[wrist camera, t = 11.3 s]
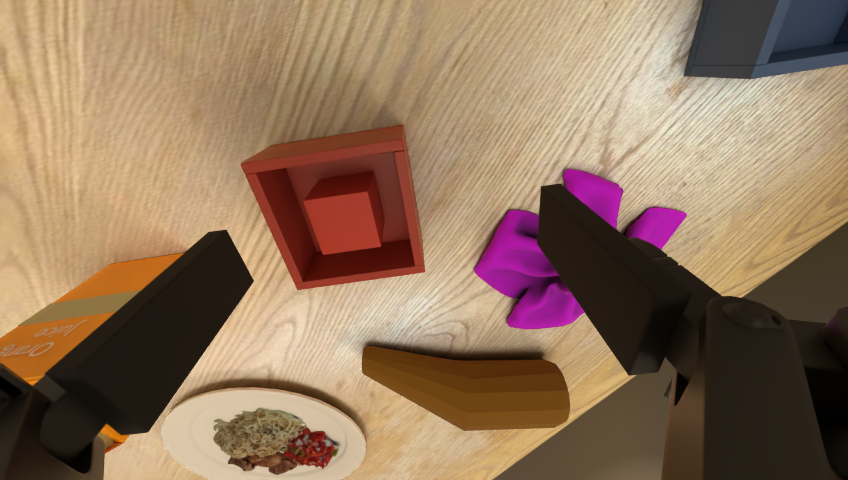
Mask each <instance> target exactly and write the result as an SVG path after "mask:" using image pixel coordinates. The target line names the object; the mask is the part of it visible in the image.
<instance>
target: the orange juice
mask: <svg viewBox="0 0 848 480" xmlns="http://www.w3.org/2000/svg"><path fill="white" fill-rule="evenodd" d="M183 254H184V253H179V254H172V255H166V256H159V257H153V258H146V259H140V260H133V261H126V262H120V263H113V264H110V265H109V266H107V267H106V268H104V269H103V270H101V271H100V272H98V273H97V274H95V275H94V276H92V277H91V278H89V279H88V280H86V281H85V282H83V283H82V284H80V285H79V286H77V287H76V288H74V289H73V290H71V291H70V292H68V293H67V294H65V295H64V296H63V297H61V298H60V299H58V300H57V301H55V302H54V303H51V304H49V305H48V306H47V307H45V308H44V309H42V310H41V311H39V312H38V313H36V314H35V315H33V316H32V317H30V318H29V319H27V320H26V321H24V322H23V323H21V324H20V325H18V327H17V328H15V329H14V330H12V331H11V332H9V333H8V334H6V335H5V336H3V337H2V338H0V363H3V364H4V365H5V366H7V367H8V368H9V369H11V370H12V371H13V372H15V373H16V374H17V375H19V376H20V377H21V378H22V379H24V380H25V381H26V382H28V383H29V384H30V385H32V386H33V385H34V384H35V383H36V382H37V381H38V380H40V379H41V378H42V377H43V376H44V375H45V374H44V373H45V372H46V371H48V370H49V369H50V368H51V367H52V366H53V365H55V364H56V363H57V362H58V361H59V360H60V359H62V358H63V357H64V356H65V355H66V354H67V353H69V352H70V351H71V350H72V349H73V348H74V347H76V346H77V345H78V344H79V343H80V342H81V341H83V340H84V339H85V338H86V337H87V336H88V335H90V334H91V333H92V332H93V331H94V330H95V329H97V328H98V327H99V326H100V325H101V324H102V323H103V322H105V321H106V320H107V319H108V318H109V317H110V316H112V315H113V314H114V313H115V312H116V311H117V310H119V309H120V308H121V307H122V306H123V305H124V304H126V303H127V302H128V301H129V300H130V299H131V298H133V297H134V296H135V295H136V294H137V293H138V292H140V291H141V290H142V289H143V288H144V287H145V286H147V285H148V284H149V283H150V282H151V281H152V280H154V279H155V278H156V277H157V276H158V275H159V274H161V273H162V272H163V271H164V270H165V269H166V268H167V267H169V266H170V265H171V264H172V263H173V262H174V261H176V260H177V259H178V258H179V257H180V256H181V255H183ZM98 436H99V437H101V438H102V439H103V440H104V443H105V453H107V452H109V451H110V450H112V449H114V448H115V447H117V446H119V445H121V444H122V443H124V441H125V440H126V439H127V437H128V436H129V435H120V434H119V433H118V432H116V431H115V430H114V429H113V428H111V427H110V426H109V425H108V424H106V425H105V426H104V427H103V429H102V430H101V431H100V432H99V433H98Z"/></svg>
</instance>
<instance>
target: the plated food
mask: <svg viewBox="0 0 848 480" xmlns="http://www.w3.org/2000/svg"><path fill="white" fill-rule="evenodd" d="M161 439H162V442H163V445H164V447H165V449H166V450H167V451H168V453H169V454H170V455H171V456H172V458H173V459H175V460H176V461H177V462H178V463H180V464H181V465H182V466H183V467H185V468H187V469H188V470H190V471H192V472H194V473H195V474H197V475H200V476H202V477H204V478H207V479H209V480H341V479H343V478H345V477H347V476H348V475H350V474H351V473H352V472H354V471H355V470H356V469H357V468H358V467H359V466H360V464H361V463H362V461H363V460H364V457H365V453H366V441H365V437H364V435H363V433H362V431H361V429H360V427H359V426H358V425H357V424H356V423H355V422H354V421H353V420H352V419H351V418H350V417H349V416H347V415H346V414H344V413H343V412H341V411H340V410H339V409H337V408H335V407H333V406H331V405H329V404H327V403H325V402H323V401H321V400H318V399H315V398H312V397H308V396H305V395H302V394H299V393H294V392H289V391H284V390H279V389H268V388H257V387H248V388H228V389H222V390H215V391H210V392H207V393H203V394H200V395H197V396H194V397H191V398H190V399H188V400H186V401H184V402H182V403H180V404H178V405H177V406H176V407H175V408H174V409H173V410H172V411H171V412H170V413H169V414H168V415H167V416H166V418H165V420H164V422H163V424H162V426H161Z"/></svg>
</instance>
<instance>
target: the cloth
mask: <svg viewBox="0 0 848 480" xmlns="http://www.w3.org/2000/svg"><path fill="white" fill-rule="evenodd" d="M563 178H564V181H565V188H566V189H567V190H568V191H570V192H571V193H572V194H573V195H575V196H576V197H577V198H578V199H579V200H581V201H582V202H583V203H584V204H586V205H587V206H588V207H589V208H590V209H592V210H593V211H594V212H595V213H597V214H598V215H599V216H600V217H601V218H603V219H604V220H605V221H606V222H608V223H609V224H610V225H611V226H612V227H614V228H615V229H616V227H617V217H618V212H619V207H620V201H621V197H622V194H623V189H622V188H620V187H619V185H618V184H616V183H613V182H610V181H607V180H605V179H603V178H601V177H599V176H596V175H593V174H590V173H588V172H584V171H578V170H572V169H567V170H566V171H565V173H564V176H563ZM686 216H687V214H686V213H684V212H681V211H677V210H673V209H667V208H660V207H654V208H649V209H647V210H646V211H645V213H644V214H643V215H642V216H641V217H640V218H639V219H638V220H637V221H636V222H635V223H634V224H633V225H632V226H631V227H630V228H629V229H628V231H627V233H626V236H625V237H626V238H633V237H637V238H639V239H642V240H644V241H646V242H649V243H651V244H653V245H655V246H656V247H658V248H659V249H660V250H661V249H662V248H663V246H664V245H665V244H666V242H667V241H668V240H669V238H670V237H671V236H672V234H673V233H674V232H675V231H676V229H677V228H678V227H679V225H680V224H681V223H682V221H683V220H684V219H685V217H686ZM538 223H539V216H538V215H536V214H534V213H531V212H528V211H521V210H510V211H509V212H508V213H507V215H506V216H505V218H504V219H503V221H502V222H501V224H500V225H499V227H498V229H497V231H496V233H495V235H494V238H493V240H492V242H491V243H490V244H489V246H488V248H487V250H486V251H485V253H484V255H483V257H482V258H481V260H480V262H479V263H478V265H477V266H476V268H475V269H474V271H475V273H476V274H477V275H478V276H479V277H480V278H481V279H483V280H484V281H485V282H486V283H488V284H489V285H490V286H492V287H493V288H495V289H496V290H497V291H499V292H500V293H502V294H504V295H506V296H508V297H511V298H516V299H521V300H520V301H519V302H518V303H517V304H516V305H515V307H514V309H513V311H512V313H511V314H510V316H509V317H508V319H507V323H508V326H509V327H514V328H520V329H541V328H551V327H559V326H564V325H567V324H570V323H572V322H574V321H575V320H576V319H577V318H578V317H579V316H580V315H582V314H583V313H584V311H583V309H582V308H581V306H580V305H579V303H578V302H577V301H576V299H575V298H574V296H573V295H572V293H571V292H570V290H569V289H568V288H567V286H566V285H565V283H564V282H563V280H562V279H561V278H560V276H559V275H558V273H557V272H556V270H555V269H554V268H553V266H552V265H551V263H550V262H549V260H548V259H547V257H546V256H545V255H544V253H543V252H542V250H541V249H540V247H539V246H538V245H537V236H538Z"/></svg>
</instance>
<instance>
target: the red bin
mask: <svg viewBox="0 0 848 480" xmlns="http://www.w3.org/2000/svg"><path fill="white" fill-rule="evenodd" d="M241 167H242V169H243V171H244V173H245V174H246V178H247V180H248V182H249V184H250V186H251V189H252V191H253V193H254V195H255V197H256V200H257V202H258V204H259V206H260V209H261V211H262V213H263V215H264V217H265V220H266V222H267V224H268V226H269V228H270V231H271V233H272V235H273V237H274V239H275V242H276V244H277V246H278V248H279V250H280V253H281V255H282V257H283V259H284V262H285V264H286V266H287V268H288V270H289V273H290V275H291V277H292V279H293V281H294V283H295V286H296V288H297V290H301V289H309V288H316V287H323V286H330V285H337V284H344V283H351V282H359V281H366V280H373V279H380V278H387V277H394V276H401V275H409V274H416V273H423V272H425V265H424V253H423V241H422V235H421V229H420V222H419V216H418V210H417V204H416V198H415V192H414V186H413V179H412V173H411V167H410V161H409V155H408V149H407V143H406V137H405V130H404V125H399V126H393V127H386V128H380V129H373V130H367V131H360V132H354V133H347V134H341V135H334V136H328V137H321V138H315V139H308V140H302V141H295V142H289V143H282V144H276V145H271V146H269V147H268V148H266V149H264V150H263V151H261V152H259V153H258V154H256V155H254V156H253V157H251V158H249V159H248V160H246V161H244V162H242V163H241ZM371 171H374V174H375V178H376V183H377V187H378V192H379V196H380V200H381V205H382V209H383V214H384V218H385V223H384V230H383V237H382V244H381V247H375V248H368V249H361V250H354V251H347V252H340V253H333V254H326V255H323V254H322V251H321V248H320V246H319V243H318V240H317V238H316V235H315V232H314V230H313V227H312V224H311V221H310V219H309V216H308V213H307V211H306V208H305V205H304V202H303V200H304V199H305V198H306V196H307V195H308V194H309V192H310V191H311V190H312V188H313V187H314V186H315V184H316V183H317V182H318V180H319V179H324V178H331V177H338V176H344V175H351V174H358V173H364V172H371Z"/></svg>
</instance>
